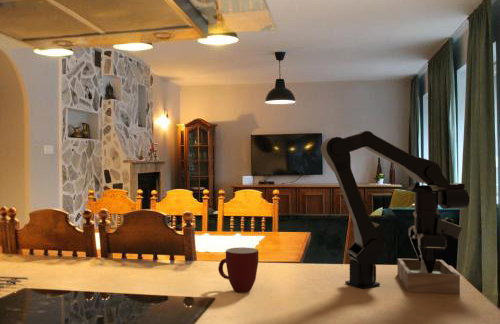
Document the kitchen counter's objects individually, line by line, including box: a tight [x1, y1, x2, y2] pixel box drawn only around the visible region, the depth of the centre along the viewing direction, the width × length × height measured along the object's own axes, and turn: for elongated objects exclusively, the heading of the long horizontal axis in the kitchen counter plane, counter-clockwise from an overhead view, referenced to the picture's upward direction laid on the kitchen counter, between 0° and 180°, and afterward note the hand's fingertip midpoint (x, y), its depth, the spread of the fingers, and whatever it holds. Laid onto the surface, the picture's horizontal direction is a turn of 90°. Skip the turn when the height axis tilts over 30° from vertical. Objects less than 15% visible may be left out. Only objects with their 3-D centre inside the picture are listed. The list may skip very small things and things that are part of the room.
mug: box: [217, 246, 260, 294], centre depth 116 cm, size 10×8×10 cm
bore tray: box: [397, 258, 461, 295], centre depth 123 cm, size 18×12×4 cm, turn 170°
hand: (426, 268), depth 123 cm, fingers open, 9 cm apart
